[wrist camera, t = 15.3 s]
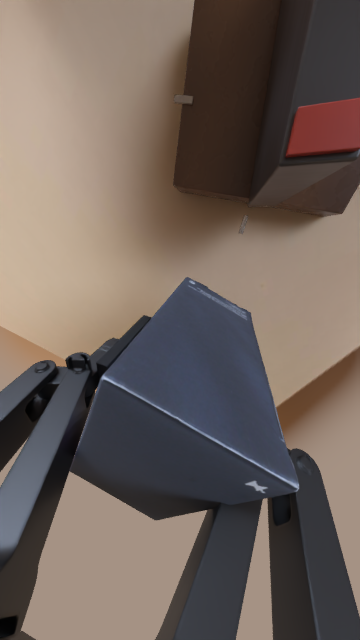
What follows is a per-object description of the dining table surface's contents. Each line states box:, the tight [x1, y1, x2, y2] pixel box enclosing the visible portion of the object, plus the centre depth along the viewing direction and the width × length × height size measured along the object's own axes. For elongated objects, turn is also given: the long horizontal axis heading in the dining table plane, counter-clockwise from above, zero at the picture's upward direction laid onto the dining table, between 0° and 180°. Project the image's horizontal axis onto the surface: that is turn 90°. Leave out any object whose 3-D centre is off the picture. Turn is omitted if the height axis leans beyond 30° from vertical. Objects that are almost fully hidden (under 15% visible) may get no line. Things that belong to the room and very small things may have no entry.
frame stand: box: [173, 0, 360, 234], centre depth 12 cm, size 15×15×3 cm
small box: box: [69, 277, 299, 520], centre depth 11 cm, size 11×6×10 cm, turn 153°
